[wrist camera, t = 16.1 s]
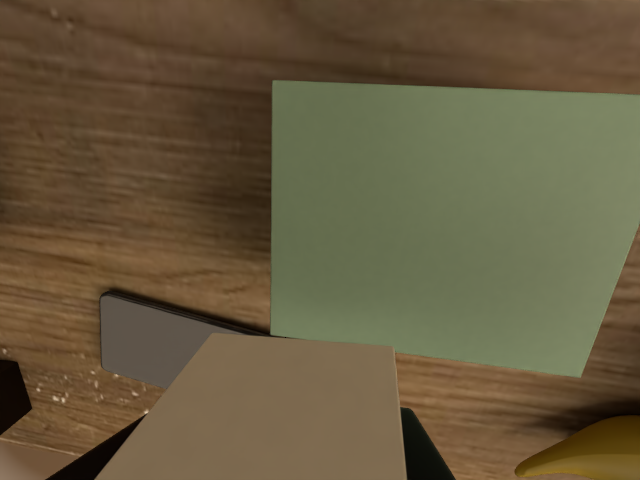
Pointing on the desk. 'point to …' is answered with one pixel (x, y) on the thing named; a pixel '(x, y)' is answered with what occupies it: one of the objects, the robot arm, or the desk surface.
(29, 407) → the stand
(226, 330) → the smartphone
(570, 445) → the yellow tapered piece
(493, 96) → the cover
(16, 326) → the desk surface
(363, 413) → the block
